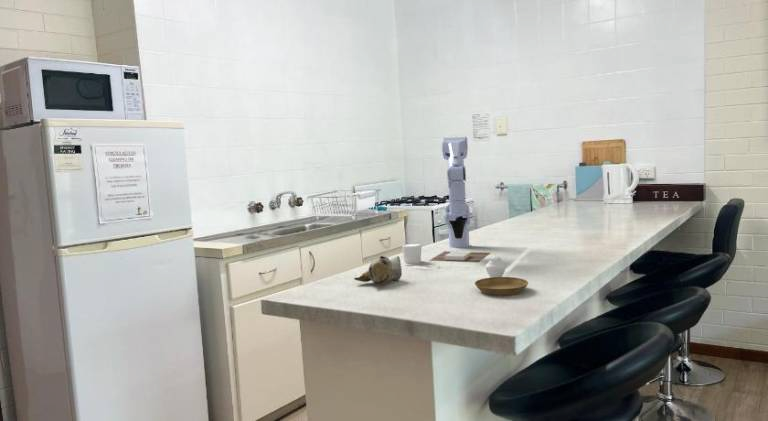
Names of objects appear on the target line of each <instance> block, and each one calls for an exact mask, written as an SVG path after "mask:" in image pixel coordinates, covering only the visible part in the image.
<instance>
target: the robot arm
mask: <svg viewBox="0 0 768 421" xmlns="http://www.w3.org/2000/svg"><path fill="white" fill-rule="evenodd" d="M441 148H442V150H441V151H442V157H443V159H444V160H446V161H447V169H446V177H447V178H446V179H447V181H446V182H447V186H448V199H449V200H448V203H447V204H445V207H444V221H445V222H444V224H445V226H446V227H448V244H449V245H448V246H449V248H452V249H459V248H460V249H461V248H466V247H472V244H470V231H469V228H468V226H469V225H470V224H471V213H470V212H471V211H470V206H469V205H468V204H467V203H466V182H467V172H466V170H467V168H466V166H465V161H464V160H465V159H467V156H468V151H469V148H468V137H467V136H458V137H457V136H456V137H442V139H441Z"/></svg>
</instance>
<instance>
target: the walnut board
mask: <svg viewBox="0 0 768 421" xmlns="http://www.w3.org/2000/svg"><path fill="white" fill-rule="evenodd" d="M450 252H451V251H446V250H445V251H443V252H441V253H439V254H438V255H436V256H434V257H432V258H431V259H429V260H428V261H429V262H451V261H450V260H445V255H447V254H448V253H450ZM470 252H471V256H470V257H469V258H467V259H466V260H464V261H452V262H456V263H459V262H461V263H480V262H481V261H483V260H484V259H485V258H486V257H487V256H489V255H490V254H491V252H481V251H480V252H478V251H470Z"/></svg>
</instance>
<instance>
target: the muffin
mask: <svg viewBox="0 0 768 421" xmlns="http://www.w3.org/2000/svg"><path fill="white" fill-rule="evenodd" d="M484 268H485V270H486V272H487V274H488V276H489V278H491V277H504V273H505V271H506V268H507V266H506V264H505V263H504V262H503V260H502V258H501V257H500V256H498V255H494V256H490V258H489V261H488V262H487V263H486V264H485V267H484Z"/></svg>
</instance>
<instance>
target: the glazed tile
mask: <svg viewBox="0 0 768 421" xmlns="http://www.w3.org/2000/svg"><path fill="white" fill-rule="evenodd" d="M449 252H450V253H448V254H447V255H445V260H450V261H449V262H453V261H464V260H466V259H467V258H469V257H470V256H471V252H472V251H458V250H456V251H455V250H452V251H449Z"/></svg>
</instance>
